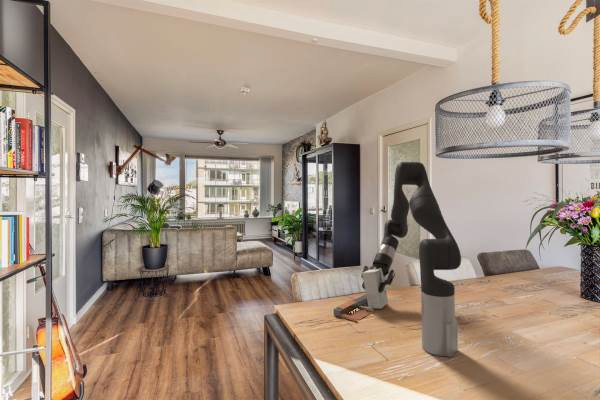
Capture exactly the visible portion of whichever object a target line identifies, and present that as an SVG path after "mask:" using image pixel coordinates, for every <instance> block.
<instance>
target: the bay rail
mask: <svg viewBox="0 0 600 400" xmlns="http://www.w3.org/2000/svg"><path fill="white" fill-rule="evenodd" d="M365 305H368V302H367V296H366V293H365V294H364V295H362V296H361V295H360V296H359V297H357V298H354V299H352V300H348V301H346V302H344V303H342V304H340V305H338V306H336V308H333V316H334V315H335V316H334V317H337V316H338V317H337V318H341V317H342V319H344V320H348V319H349V320H348V321H351V320H352V322H354V321H355V322H354V323H357V322H358V321H360V320H362V319H363V317H364V318H365V316H366V317H367V316H369V315H370V314H373V313H374V308H369V307H367V306H365ZM386 305H388V304H386ZM386 305H385V306H386ZM356 308H358V309H361V310H358V311H356V310H355V313H354V311H353V310H354V309H356ZM364 310H365V311H364ZM351 311H353V314H352V313H351ZM367 311H368V312H367ZM349 312H350V313H349ZM357 319H358V320H357ZM356 321H357V322H356Z"/></svg>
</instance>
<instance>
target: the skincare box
mask: <svg viewBox="0 0 600 400" xmlns="http://www.w3.org/2000/svg"><path fill="white" fill-rule="evenodd" d="M362 272H363V271H362ZM362 272H361V275H363V278H362V280H363V281H364V286H365V289H364V290H365V294H366V296H367V302H368V303H367V306H368V307H367V308H371V309H381V310H382V309H383V308H384V307H385V306H386V304H387V305H388V304H389V298H388V294H387V293H388V292H387V287H385V288H384V291H383V292H382V293H380V292H379V291H378V288H379V286H380V283H381V282H382V280H381V277H380V269H375V270H368V271H365V272H363V273H362Z"/></svg>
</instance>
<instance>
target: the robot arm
mask: <svg viewBox="0 0 600 400" xmlns="http://www.w3.org/2000/svg"><path fill="white" fill-rule="evenodd" d="M394 172H395V174H394V186H393V203H392V208H391V212H390V219H388V220H386V221H385V222H384V223H385V224H384V228H383V230H384V232H383V239H382V241H381V244H380V246H379V248H378V249H377V252H376V254H375V257H374V259H373V261H372V265H371V266H368V265H364V267H363V269H362V272H361V275H360V277H361V278H362V279H363V275H362V273H363V272H365V271H368V270H375V269H380V277H381V280H382V282H381V283H380V286H379V288H378V291H379V292H380V293H382V292H383V291H384V288H386V286H387V285H388V286H389V285H392V283H393V280H394V278H395V276H396V272H395V270H394V269H391V267H392V264H393V262H394V259H395V256H396V252H397V249H398V247H399V240H398V238H400V239H401V238H402V239H403V238H405V237H407V234H408V231H409V226H408V215H409V211H410V212H411V216H412V218H413V219H414V221H415V222H416V224H418V225H419V226H420V227H422V228H423V229H424V230H426V231H427V232H428V233H430V234H431V235H432V236H433V237H434V238H424V239H422V240H421V241H420V243H419V246H418V258H419V269H420V273H419V274H420V290H421V294H420V295H421V298H420V299H421V346H422V349H423V350H424V351H425V352H427V353H428V354H431V355H435V356H440V357H449V358H452V357H453V356H454V355H455V354H456V353H457V351H458V350H459V349H458V348H459V347H458V346H459V345H458V343H459V342H458V341H459V340H458V338H459V337H458V335H459V334H458V318H457V317H456V305H455V304H456V303H455V302H456V301H455V300H456V294H455V288H456V287H455V285H454V283H452V282H451V281H449V280H446V279H443V278H440V277H438V276H436V275H435V271H453V270H456V269H458V268H460V266H461V263H462V255H461V250H460V248H459V245H458V243H457V241H456V240H455V237H454V236H453V234H452V232H451V230H450V228H449V226H448V225H447V223H446V220H445V219H444V217H443V214H442V211H441V208H440V206H439V203H438V201H437V198H436V196H435V194H434V192H433V190H432V186H431V183H430V181H429V177H428V173H427V170H426V166H425V165H424V163H422V162H419V161H401V162H399V163H397V164H396V168H395V171H394ZM403 186H416V187H417V189H415V191H414V192H413V193H412V195H411V196H410V199H408V198H407V195H406V194H405V192H404V190H403ZM387 275H388V276H387ZM386 276H387V277H386ZM361 287H362V289H363V290H365V286H364V280H363V281H362V284H361Z"/></svg>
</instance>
